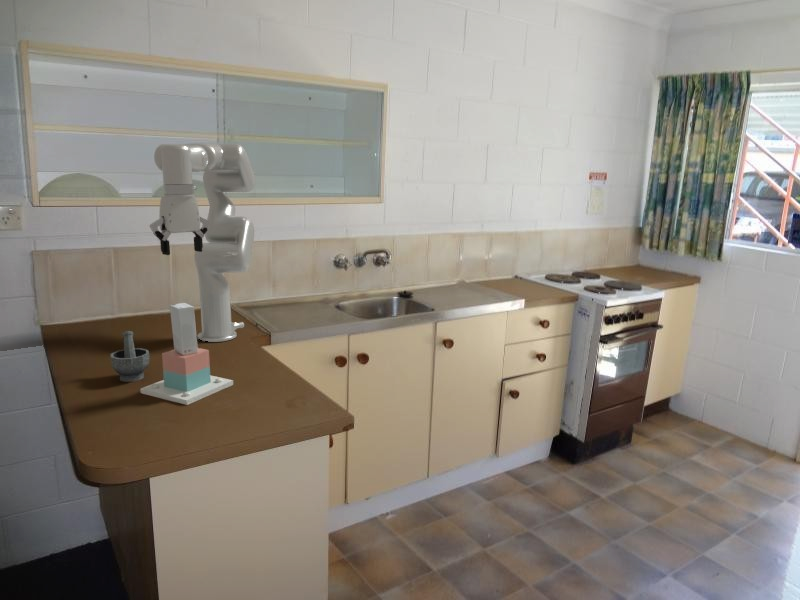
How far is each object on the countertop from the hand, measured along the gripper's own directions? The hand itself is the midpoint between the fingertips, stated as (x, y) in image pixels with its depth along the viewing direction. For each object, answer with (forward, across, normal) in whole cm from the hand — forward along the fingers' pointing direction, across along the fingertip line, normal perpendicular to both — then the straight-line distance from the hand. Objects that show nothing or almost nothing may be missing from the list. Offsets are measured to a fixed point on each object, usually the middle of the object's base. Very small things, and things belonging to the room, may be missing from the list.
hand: (182, 252), depth 171 cm
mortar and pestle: (+32, +17, 0) cm, 37 cm away
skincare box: (+22, +11, +19) cm, 31 cm away
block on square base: (+32, +11, +19) cm, 39 cm away
